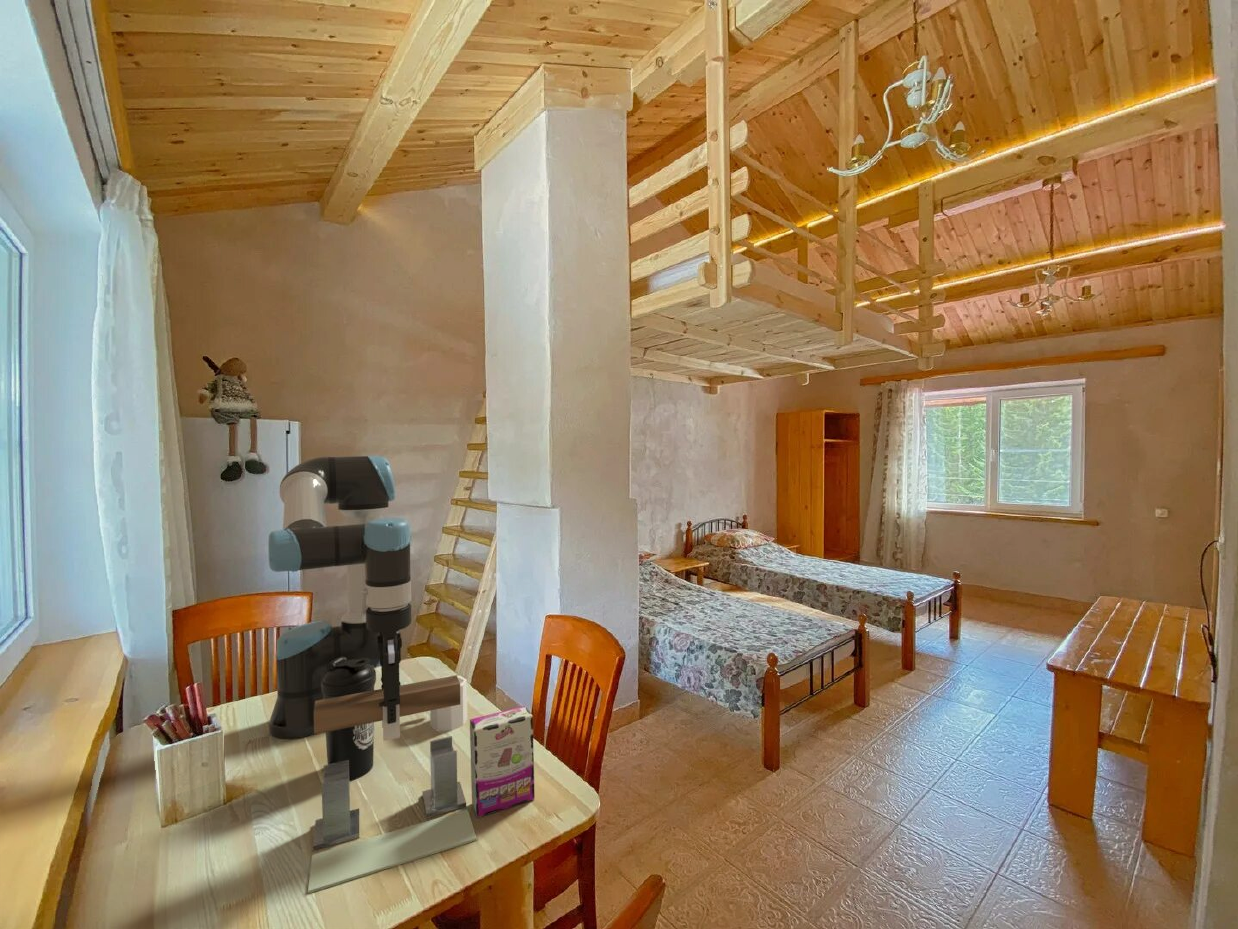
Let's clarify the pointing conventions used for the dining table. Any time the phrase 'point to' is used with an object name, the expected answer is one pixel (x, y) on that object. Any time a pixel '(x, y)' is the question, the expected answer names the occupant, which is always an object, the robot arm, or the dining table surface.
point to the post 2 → (443, 780)
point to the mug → (451, 712)
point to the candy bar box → (501, 760)
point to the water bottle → (356, 739)
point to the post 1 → (336, 808)
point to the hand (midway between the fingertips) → (390, 731)
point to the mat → (389, 850)
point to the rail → (367, 709)
